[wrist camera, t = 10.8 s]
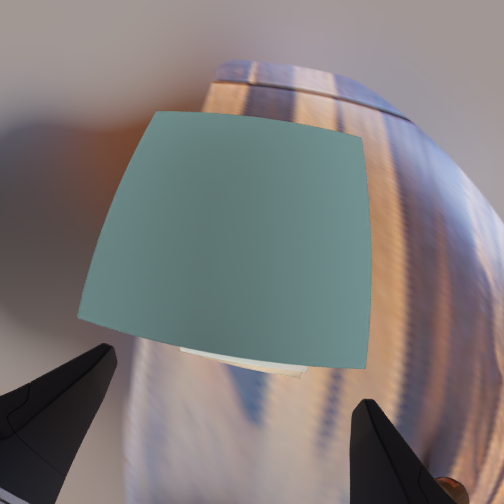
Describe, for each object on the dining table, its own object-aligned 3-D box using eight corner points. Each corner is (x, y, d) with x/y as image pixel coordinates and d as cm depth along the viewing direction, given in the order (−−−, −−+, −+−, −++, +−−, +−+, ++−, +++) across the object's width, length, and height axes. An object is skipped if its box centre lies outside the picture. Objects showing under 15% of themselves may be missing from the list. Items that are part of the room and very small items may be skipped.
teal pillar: (280, 358, 16) (365, 369, 5) (184, 342, 16) (77, 317, 5) (292, 267, 18) (361, 137, 7) (202, 253, 18) (156, 111, 7)
